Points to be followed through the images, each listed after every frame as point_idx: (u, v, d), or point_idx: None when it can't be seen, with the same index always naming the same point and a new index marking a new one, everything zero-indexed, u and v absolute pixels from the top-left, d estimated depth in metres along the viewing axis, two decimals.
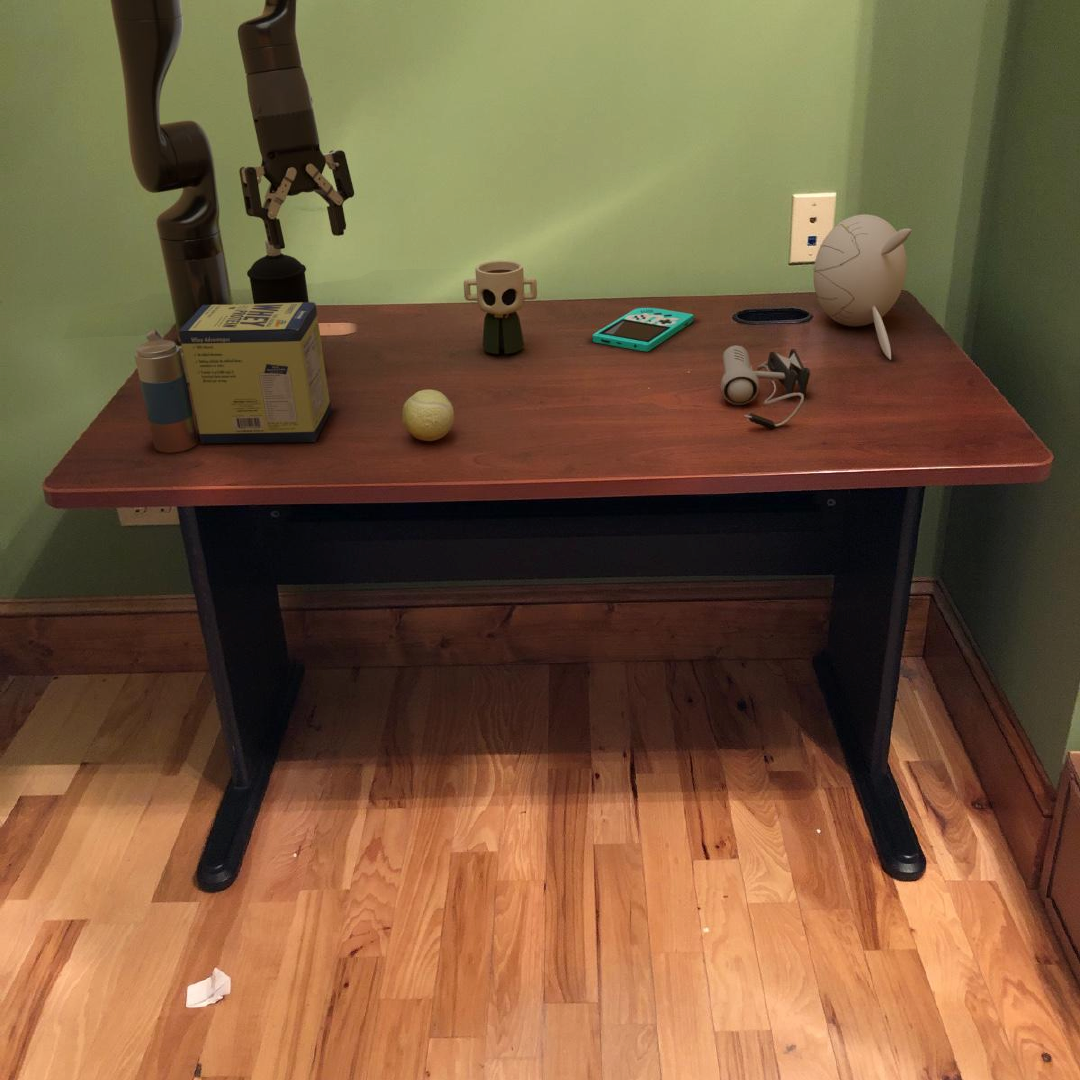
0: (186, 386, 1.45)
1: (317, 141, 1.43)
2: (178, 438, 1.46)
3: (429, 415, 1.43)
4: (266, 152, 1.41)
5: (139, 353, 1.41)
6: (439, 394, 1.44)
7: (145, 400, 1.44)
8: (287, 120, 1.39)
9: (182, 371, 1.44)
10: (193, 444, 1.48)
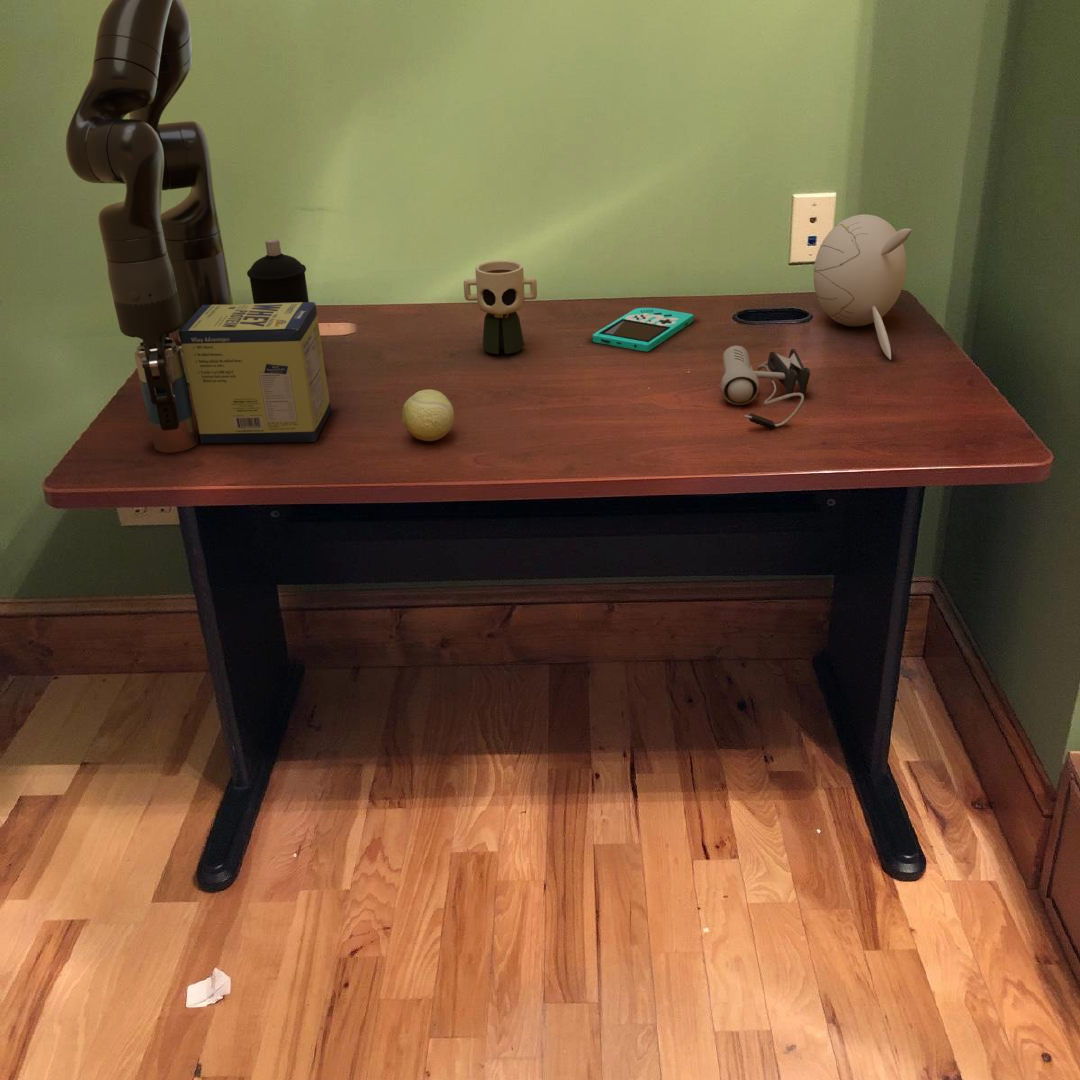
0: (186, 386, 1.45)
1: (128, 334, 1.38)
2: (178, 438, 1.46)
3: (429, 415, 1.43)
4: None
5: None
6: (439, 394, 1.44)
7: (145, 400, 1.44)
8: None
9: (182, 371, 1.44)
10: (193, 444, 1.48)
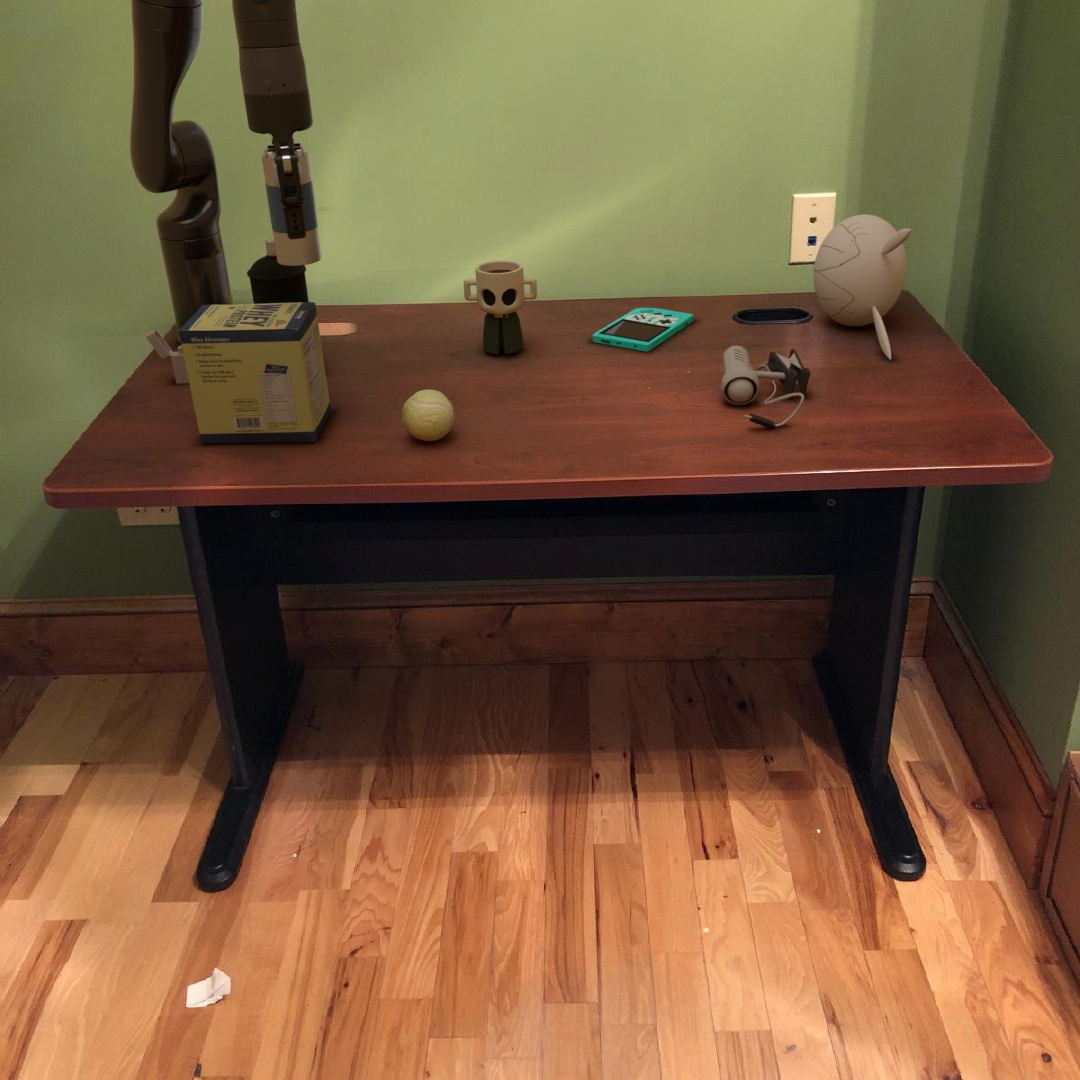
0: (313, 194, 1.39)
1: (258, 129, 1.32)
2: (304, 250, 1.40)
3: (429, 415, 1.43)
4: None
5: (267, 154, 1.35)
6: (439, 394, 1.44)
7: (271, 207, 1.38)
8: None
9: (310, 177, 1.38)
10: (318, 258, 1.42)
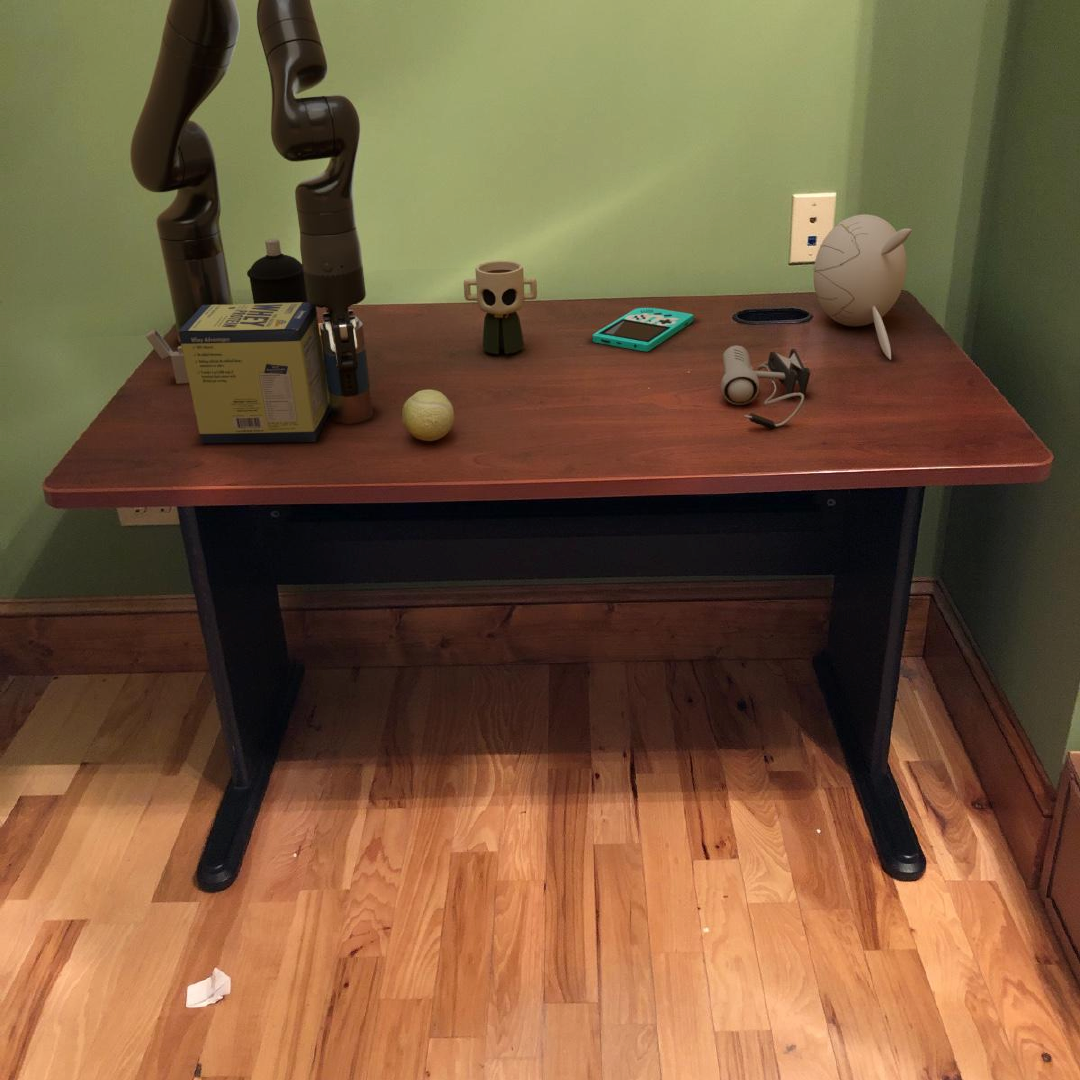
0: (366, 359, 1.51)
1: (317, 304, 1.44)
2: (358, 410, 1.52)
3: (429, 415, 1.43)
4: None
5: None
6: (439, 394, 1.44)
7: (328, 373, 1.50)
8: None
9: (364, 345, 1.50)
10: (369, 416, 1.54)
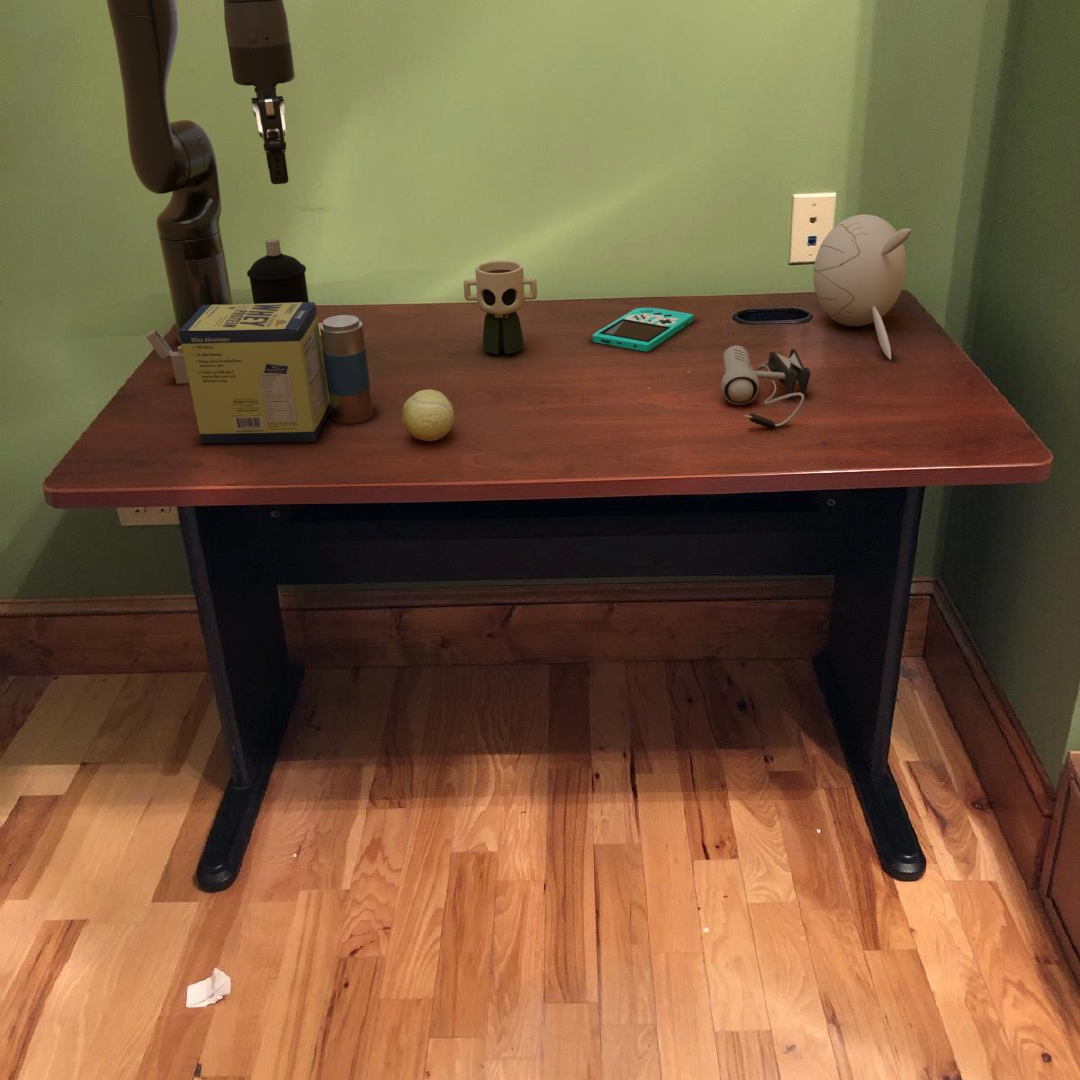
0: (366, 359, 1.51)
1: (243, 81, 1.39)
2: (358, 410, 1.52)
3: (429, 415, 1.43)
4: None
5: (326, 327, 1.47)
6: (439, 394, 1.44)
7: (328, 373, 1.50)
8: None
9: (364, 345, 1.50)
10: (369, 416, 1.54)
